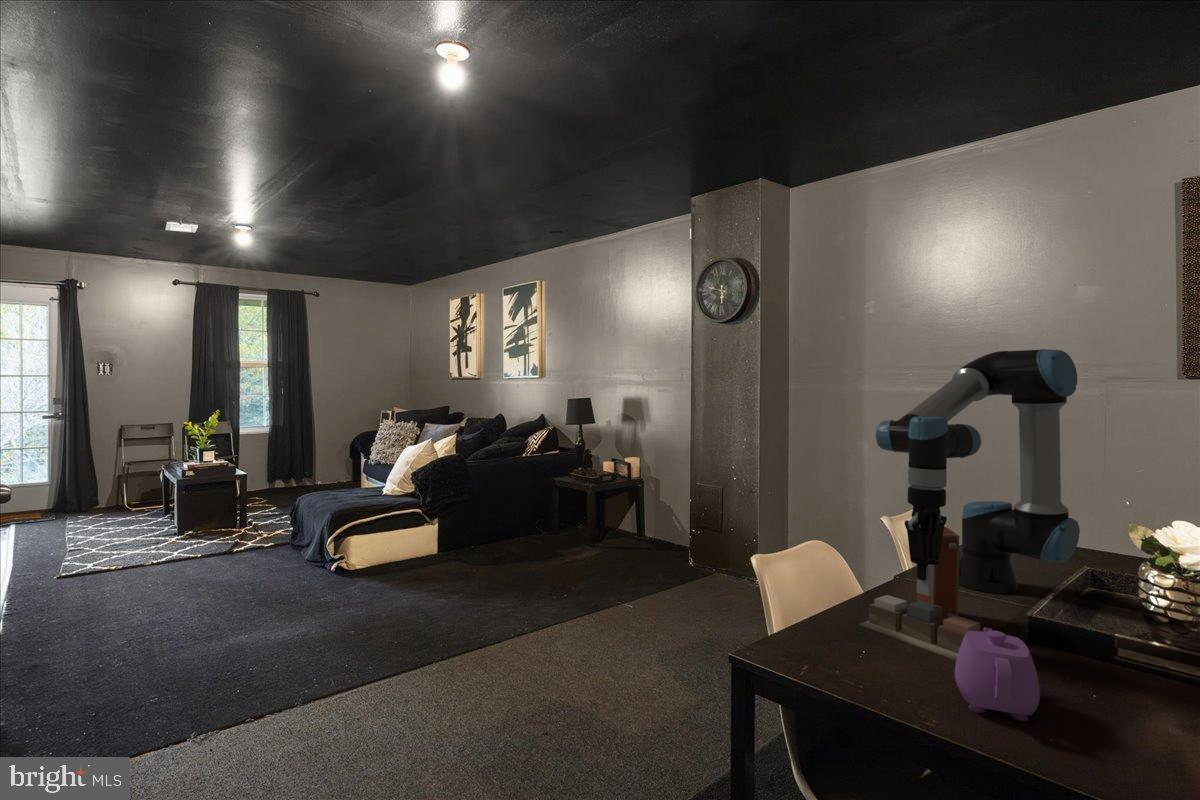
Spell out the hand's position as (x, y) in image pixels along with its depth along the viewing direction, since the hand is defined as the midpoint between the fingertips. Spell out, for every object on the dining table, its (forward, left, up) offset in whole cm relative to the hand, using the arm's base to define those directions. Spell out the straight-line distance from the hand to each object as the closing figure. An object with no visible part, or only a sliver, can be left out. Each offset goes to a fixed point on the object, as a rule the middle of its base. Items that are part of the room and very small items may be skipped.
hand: (924, 593), depth 141 cm
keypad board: (0, 0, -10) cm, 10 cm away
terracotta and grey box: (-14, -5, -10) cm, 18 cm away
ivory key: (0, -8, -8) cm, 11 cm away
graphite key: (0, 0, -7) cm, 7 cm away
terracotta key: (0, +8, -8) cm, 11 cm away
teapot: (+18, +23, -10) cm, 31 cm away
